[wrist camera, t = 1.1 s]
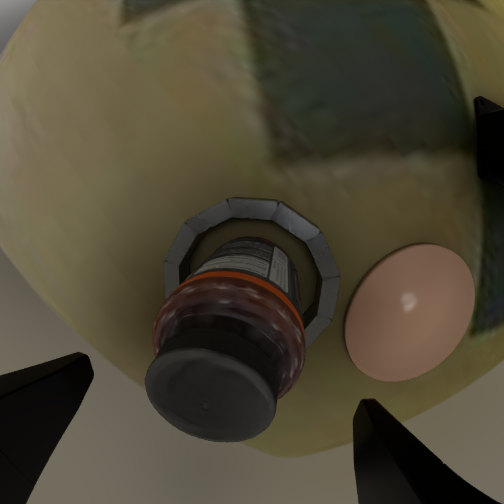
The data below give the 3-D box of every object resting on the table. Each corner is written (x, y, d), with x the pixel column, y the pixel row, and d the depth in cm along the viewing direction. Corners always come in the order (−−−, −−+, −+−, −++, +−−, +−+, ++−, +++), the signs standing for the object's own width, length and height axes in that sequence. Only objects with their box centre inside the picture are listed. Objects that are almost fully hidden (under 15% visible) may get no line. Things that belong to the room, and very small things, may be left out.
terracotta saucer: (482, 250, 15) (488, 252, 14) (443, 371, 18) (447, 376, 17) (358, 234, 16) (362, 237, 15) (330, 376, 19) (331, 383, 18)
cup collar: (341, 205, 16) (349, 208, 14) (319, 352, 18) (321, 368, 17) (176, 194, 17) (163, 196, 15) (179, 336, 20) (170, 350, 18)
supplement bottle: (284, 329, 18) (276, 472, 7) (201, 307, 19) (122, 427, 8) (309, 246, 17) (344, 353, 6) (216, 224, 17) (110, 290, 6)
